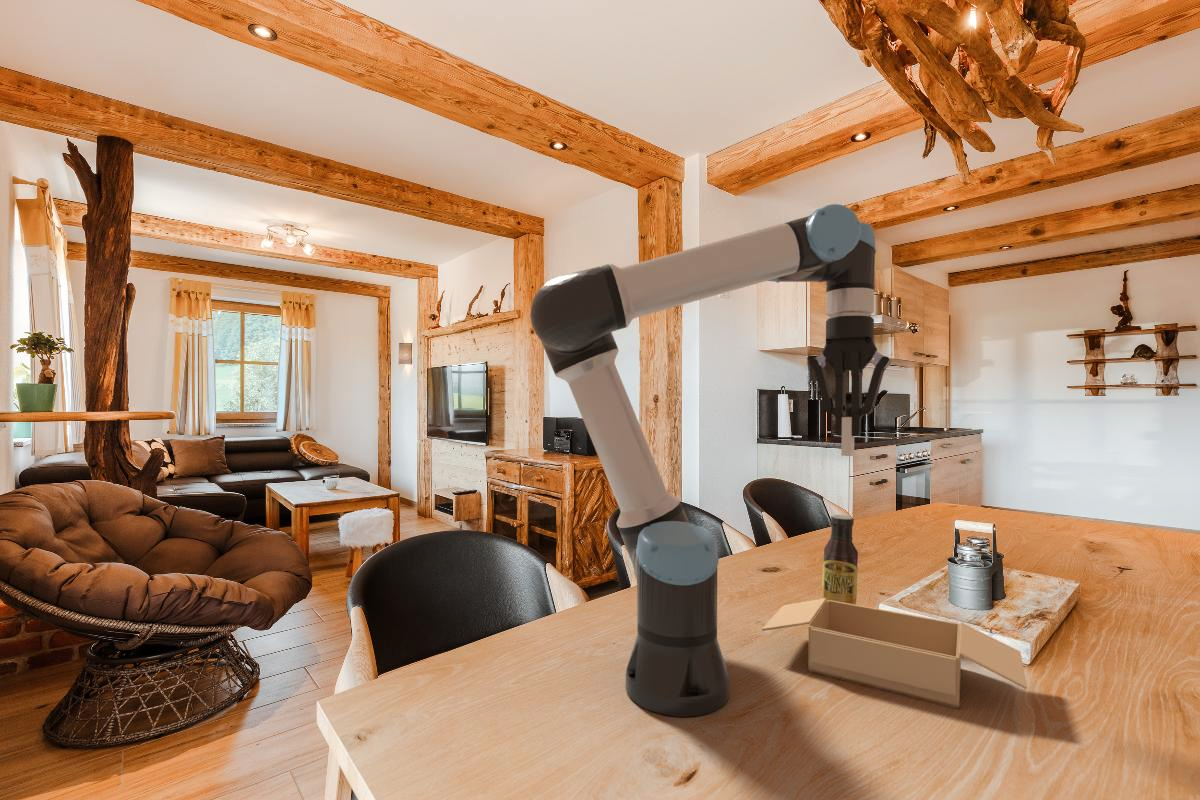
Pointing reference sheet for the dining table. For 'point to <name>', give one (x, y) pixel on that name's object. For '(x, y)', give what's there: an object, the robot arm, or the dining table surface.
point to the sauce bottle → (840, 562)
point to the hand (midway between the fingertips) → (847, 455)
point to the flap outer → (992, 655)
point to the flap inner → (795, 614)
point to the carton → (887, 651)
